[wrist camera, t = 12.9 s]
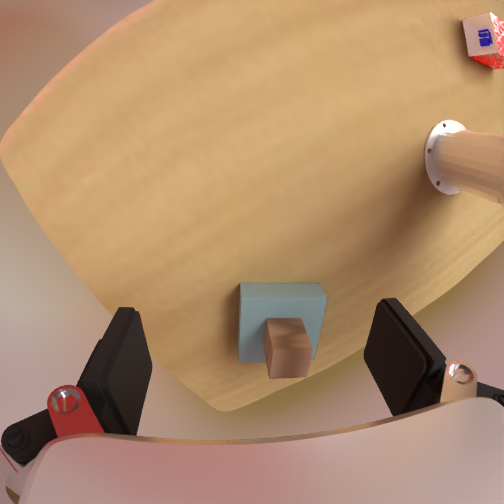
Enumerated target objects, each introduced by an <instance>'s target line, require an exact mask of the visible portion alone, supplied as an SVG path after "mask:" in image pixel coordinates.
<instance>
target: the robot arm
mask: <svg viewBox="0 0 504 504" xmlns="http://www.w3.org/2000/svg"><path fill="white" fill-rule="evenodd" d="M443 123H444V125H445V127H444V128H443ZM428 149H430V153H428ZM424 160H425V167H426V171H427V174H428V177H429V179H430V181H431V183H432V184H433V186H434V187H435V188H436V189H437V190H439V191H440V192H442V193H444V194H447V195H455V194H458V193H460V192H461V191H466V192H469V193H471V194H474V195H477V196H479V197H482V198H484V199H487V200H489V201H492V202H494V203H497V204H499V205H501V206H504V135H497V134H491V133H483V132H476V131H467V129H466V128H465V127H464V126H463V125H462V124H461V123H459V122H457V121H454V120H443V121H440V122H438V123H437V124H436V125H435V126H434V127H433V128H432V129H431V131H430V133H429V135H428V137H427V140H426V144H425V151H424ZM437 181H439V184H438V186H437V185H436V183H437ZM459 189H460V190H459ZM364 360H365V362H366V364H367V366H368V368H369V370H370V372H371V374H372V376H373V378H374V380H375V381H376V383H377V385H378V387H379V389H380V391H381V393H382V395H383V397H384V399H385V401H386V403H387V405H388V407H389V409H390V411H391V413H392V415H393V417H390V418H386V419H382V420H378V421H374V422H370V423H365V424H361V425H356V426H351V427H346V428H341V429H335V430H329V431H323V432H317V433H310V434H302V435H294V436H284V437H275V438H260V439H242V440H241V439H240V440H191V439H189V440H188V439H170V438H155V437H144V436H136V435H137V430H138V426H139V422H140V417H141V413H142V409H143V405H144V401H145V397H146V392H147V389H148V385H149V381H150V377H151V373H152V361H151V357H150V354H149V350H148V346H147V342H146V338H145V334H144V330H143V326H142V322H141V317H140V313H139V312H138V311H135V309H134V308H133V307H119V308H118V310H117V312H116V313H115V315H114V317H113V319H112V321H111V323H110V324H109V327H108V328H107V330H106V332H105V334H104V336H103V338H102V339H100V340H99V341H98V343H97V345H96V346H95V349H94V351H93V352H92V354H91V356H90V358H89V360H88V362H87V364H86V366H85V368H84V370H83V372H82V374H81V377H80V379H79V381H78V383H77V385H76V386H73V385H64V386H60V387H58V388H56V389H55V390H54V391H53V392H51V394H50V395H49V397H48V400H47V407H48V409H45V410H43V411H41V412H39V413H37V414H35V415H32V416H30V417H28V418H26V419H24V420H21V421H19V422H17V423H15V424H12V425H10V426H9V427H7V429H6V430H5V431H4V432H3V435H2V438H1V443H2V445H0V504H504V390H501V389H498V388H495V387H492V386H489V385H486V384H483V383H480V382H477V375H476V372H475V370H474V369H473V368H472V367H471V366H469V365H468V364H466V363H464V362H459V361H456V362H451V363H449V364H448V365H446V364H445V361H446V357H445V356H444V355H443V354H442V352H441V351H440V350H439V348H438V347H437V346H436V345H435V343H434V342H433V341H432V340H431V339H430V337H429V336H428V335H427V334H426V333H425V331H424V330H423V329H422V328H421V326H420V325H419V324H418V323H417V322H416V321H415V319H413V317H412V316H411V315H410V313H409V312H408V311H407V310H406V309H405V308H404V307H403V305H402V304H401V303H400V302H399V301H398V300H397V299H396V298H386V299H382V300H381V302H380V303H378V304H377V307H376V311H375V315H374V318H373V322H372V326H371V330H370V333H369V337H368V340H367V344H366V347H365V350H364Z"/></svg>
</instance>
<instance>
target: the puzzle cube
mask: <svg viewBox="0 0 504 504" xmlns="http://www.w3.org/2000/svg"><path fill="white" fill-rule="evenodd" d="M462 22H463V27H464V32H465V37H466V43H467V49H468V56H469V57H470V58H473V59H475V60H477V61H479V62H481V63H483V64H485V65H486V66H488V67H490V68H492V69H504V22H503V21H502V20H500V19H499V18H498V17H496V16H495V15H493V14H492V13H490V12H489V13H485V14H481V15H478V16H474V17H470V18H467V19H464V20H462Z"/></svg>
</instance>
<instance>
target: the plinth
mask: <svg viewBox="0 0 504 504" xmlns="http://www.w3.org/2000/svg"><path fill="white" fill-rule="evenodd" d="M327 299H328V296H327V294H326V292H325V290H324V289H323V287H322V285H321V284H320V283H240V300H239V327H238V357H239V362H266V358H265V352H264V346H263V344H264V335H265V326H266V318H301V319H302V321H303V324H304V327H305V329H306V332H307V335H308V337H309V340H310V343H311V345H312V348H313V352H312V356H311V360H314V357H315V353H316V349H317V344H318V340H319V336H320V332H321V327H322V323H323V318H324V313H325V309H326V304H327Z"/></svg>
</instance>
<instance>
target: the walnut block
mask: <svg viewBox="0 0 504 504" xmlns="http://www.w3.org/2000/svg"><path fill="white" fill-rule="evenodd" d="M263 346H264V352H265V358H266V363H267V369H268V375H269V379H277V378H296V377H306V376H307V372H308V368H309V364H310V360H311V356H312V352H313V348H312V345H311V343H310V340H309V337H308V335H307V332H306V329H305V327H304V324H303V321H302V319H301V318H266V326H265V335H264V344H263Z"/></svg>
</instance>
